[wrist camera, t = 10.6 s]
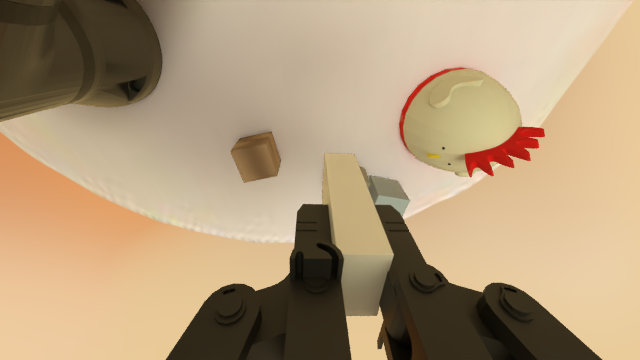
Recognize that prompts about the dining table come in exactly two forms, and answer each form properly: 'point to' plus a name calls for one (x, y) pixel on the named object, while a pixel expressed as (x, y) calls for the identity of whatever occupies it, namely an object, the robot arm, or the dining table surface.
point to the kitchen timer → (465, 123)
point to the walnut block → (256, 157)
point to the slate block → (388, 193)
